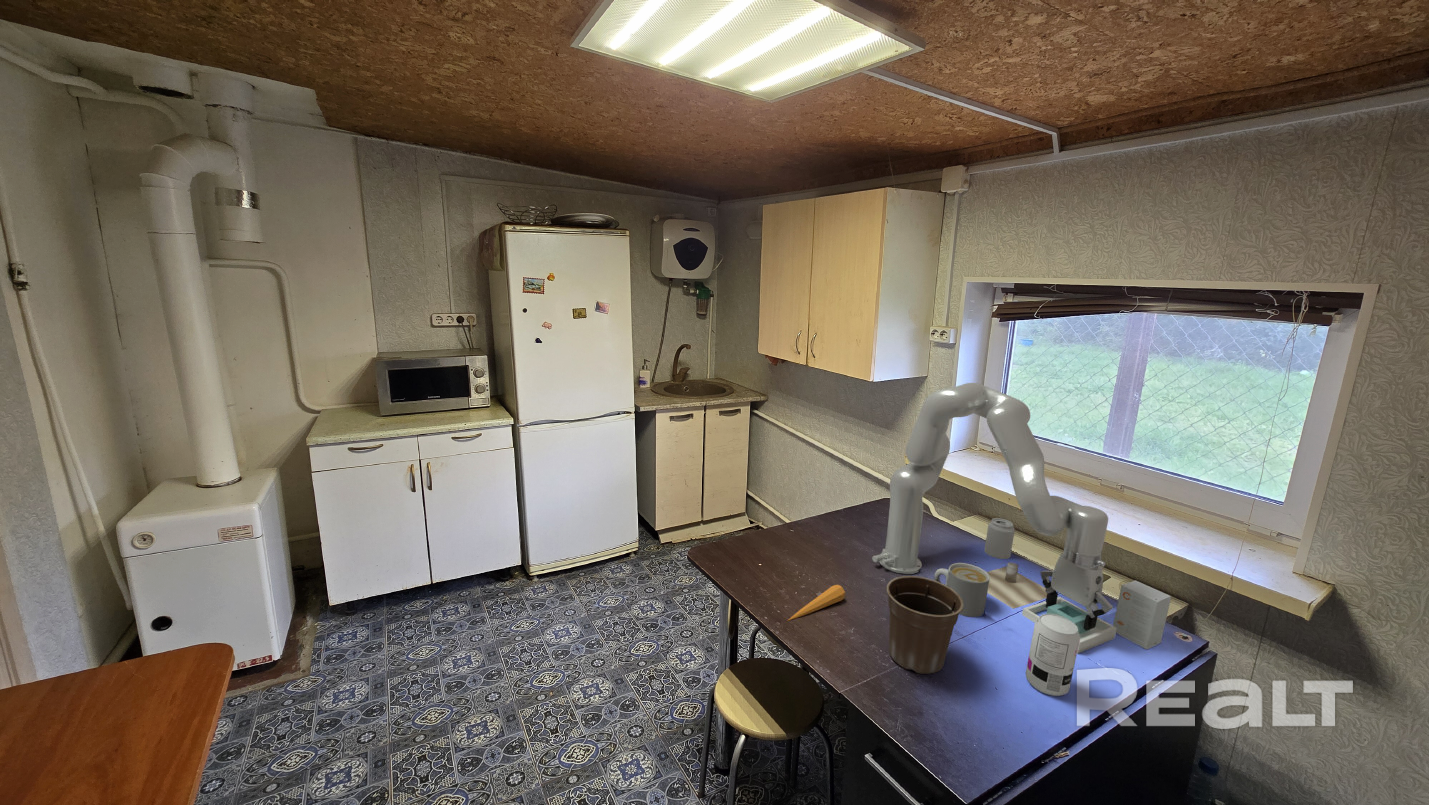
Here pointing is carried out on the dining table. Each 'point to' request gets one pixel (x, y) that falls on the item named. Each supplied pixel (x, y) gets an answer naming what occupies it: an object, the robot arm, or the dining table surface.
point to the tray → (1087, 639)
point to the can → (999, 538)
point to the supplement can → (1052, 654)
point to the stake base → (1014, 587)
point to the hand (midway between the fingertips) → (1068, 617)
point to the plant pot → (921, 622)
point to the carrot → (822, 601)
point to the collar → (1069, 614)
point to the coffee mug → (967, 586)
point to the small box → (1141, 614)
